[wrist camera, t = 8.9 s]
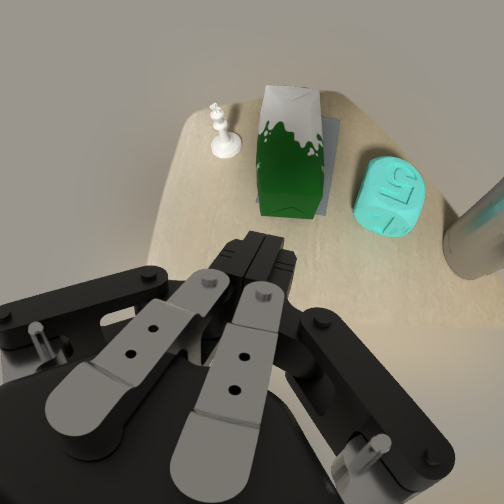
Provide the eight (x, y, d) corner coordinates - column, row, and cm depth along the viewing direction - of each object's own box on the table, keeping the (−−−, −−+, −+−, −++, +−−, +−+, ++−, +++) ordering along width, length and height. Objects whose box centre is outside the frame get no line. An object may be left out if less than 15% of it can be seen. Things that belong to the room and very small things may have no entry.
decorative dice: (348, 223, 42) (360, 197, 35) (362, 177, 44) (374, 147, 37) (399, 243, 41) (420, 222, 33) (410, 196, 43) (429, 170, 35)
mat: (339, 120, 48) (339, 119, 47) (325, 216, 43) (325, 215, 43) (281, 110, 49) (281, 109, 49) (255, 202, 45) (255, 201, 45)
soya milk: (332, 194, 35) (322, 78, 40) (252, 188, 35) (261, 72, 41) (318, 222, 43) (314, 114, 49) (252, 218, 43) (260, 110, 49)
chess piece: (230, 163, 47) (218, 122, 38) (205, 151, 48) (189, 110, 39) (248, 140, 48) (239, 98, 39) (223, 130, 49) (211, 88, 40)
